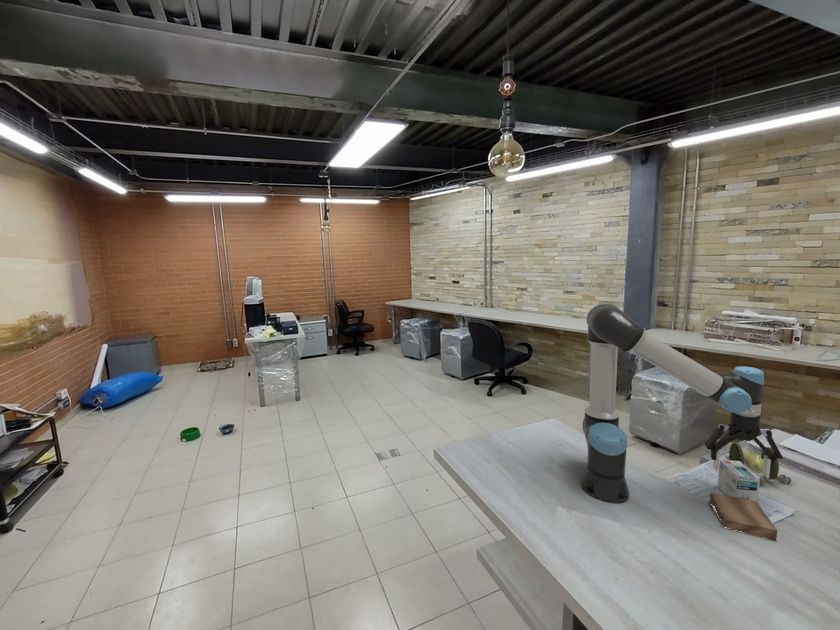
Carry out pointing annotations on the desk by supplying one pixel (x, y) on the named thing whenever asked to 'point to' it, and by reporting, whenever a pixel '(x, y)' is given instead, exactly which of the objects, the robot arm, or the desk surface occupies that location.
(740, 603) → the desk surface
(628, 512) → the desk surface
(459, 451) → the desk surface
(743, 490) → the light bulb box
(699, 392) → the robot arm
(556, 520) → the desk surface
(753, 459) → the cannon
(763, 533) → the walnut block
